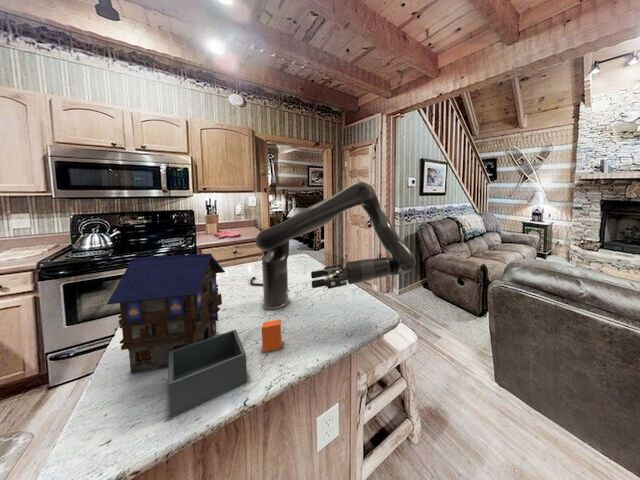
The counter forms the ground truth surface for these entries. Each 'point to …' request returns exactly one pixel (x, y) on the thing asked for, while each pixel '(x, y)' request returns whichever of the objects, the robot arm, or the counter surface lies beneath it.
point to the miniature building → (166, 306)
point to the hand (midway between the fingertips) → (311, 279)
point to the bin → (205, 370)
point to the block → (271, 335)
